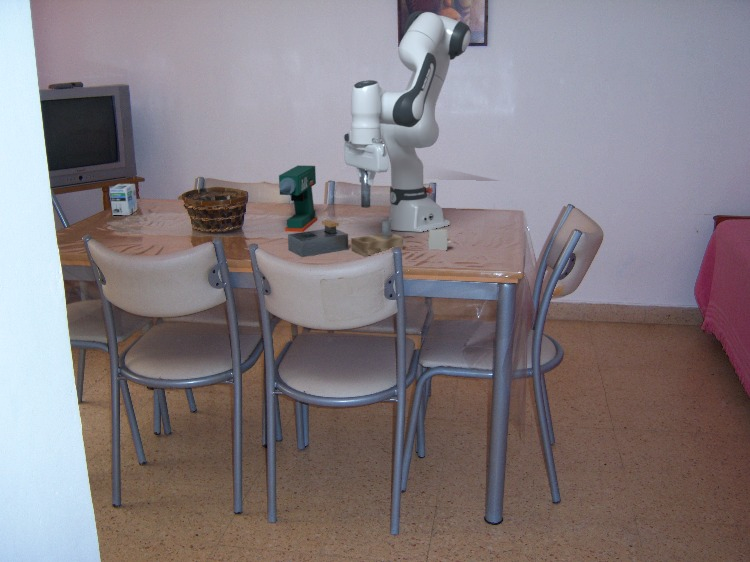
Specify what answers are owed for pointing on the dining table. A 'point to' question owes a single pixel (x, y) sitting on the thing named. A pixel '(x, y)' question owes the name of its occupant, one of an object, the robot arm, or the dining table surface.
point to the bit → (365, 190)
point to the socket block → (317, 242)
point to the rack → (376, 241)
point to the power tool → (299, 196)
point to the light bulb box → (123, 199)
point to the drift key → (330, 226)
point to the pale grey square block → (438, 239)
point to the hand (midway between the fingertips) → (366, 183)
